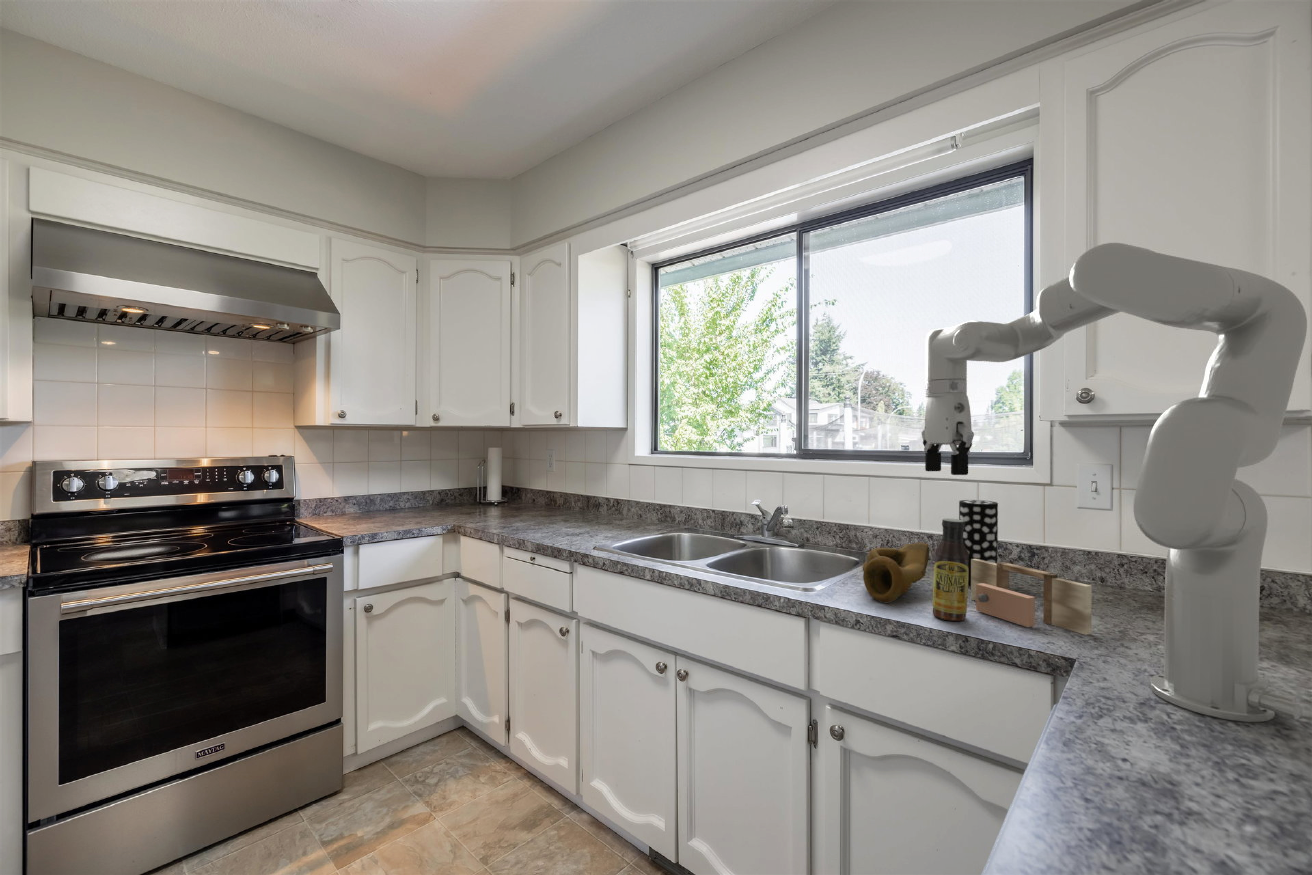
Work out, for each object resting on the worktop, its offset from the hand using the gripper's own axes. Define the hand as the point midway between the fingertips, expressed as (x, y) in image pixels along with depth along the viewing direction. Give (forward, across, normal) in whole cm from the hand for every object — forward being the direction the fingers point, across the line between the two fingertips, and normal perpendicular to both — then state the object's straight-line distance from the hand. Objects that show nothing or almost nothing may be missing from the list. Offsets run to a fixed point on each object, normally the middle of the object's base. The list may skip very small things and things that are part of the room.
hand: (945, 472), depth 119 cm
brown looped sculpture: (+29, +18, +2) cm, 34 cm away
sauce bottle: (+29, -2, 0) cm, 29 cm away
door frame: (+29, -2, -16) cm, 33 cm away
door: (+29, -4, -10) cm, 31 cm away
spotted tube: (+29, +22, -21) cm, 42 cm away
